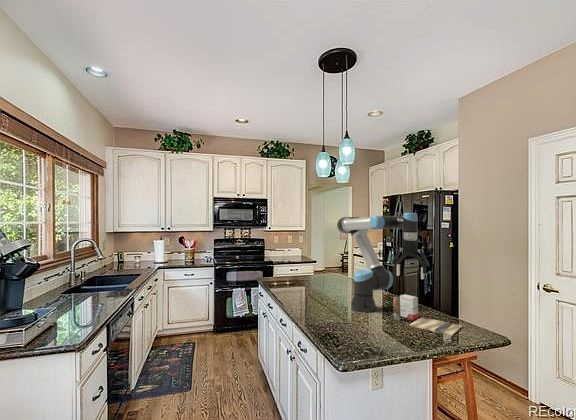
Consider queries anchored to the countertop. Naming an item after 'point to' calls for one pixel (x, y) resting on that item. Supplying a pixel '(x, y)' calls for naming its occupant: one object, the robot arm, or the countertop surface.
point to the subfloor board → (436, 326)
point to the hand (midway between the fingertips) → (410, 277)
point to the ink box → (409, 306)
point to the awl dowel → (396, 308)
